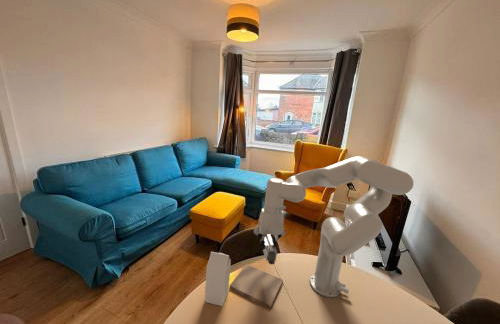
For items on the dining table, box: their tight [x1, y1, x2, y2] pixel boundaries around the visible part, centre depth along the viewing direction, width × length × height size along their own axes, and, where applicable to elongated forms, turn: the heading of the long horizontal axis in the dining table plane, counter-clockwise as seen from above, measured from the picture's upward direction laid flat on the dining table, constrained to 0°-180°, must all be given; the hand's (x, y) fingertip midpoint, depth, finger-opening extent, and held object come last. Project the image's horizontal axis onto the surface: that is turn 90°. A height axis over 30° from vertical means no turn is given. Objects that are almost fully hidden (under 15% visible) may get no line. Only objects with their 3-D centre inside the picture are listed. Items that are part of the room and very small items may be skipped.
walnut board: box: [228, 264, 284, 310], centre depth 88 cm, size 18×15×2 cm
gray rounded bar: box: [259, 235, 278, 265], centre depth 88 cm, size 15×4×4 cm, turn 7°
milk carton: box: [204, 251, 232, 307], centre depth 79 cm, size 7×7×19 cm
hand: (267, 247), depth 90 cm, fingers closed on gray rounded bar, 4 cm apart
